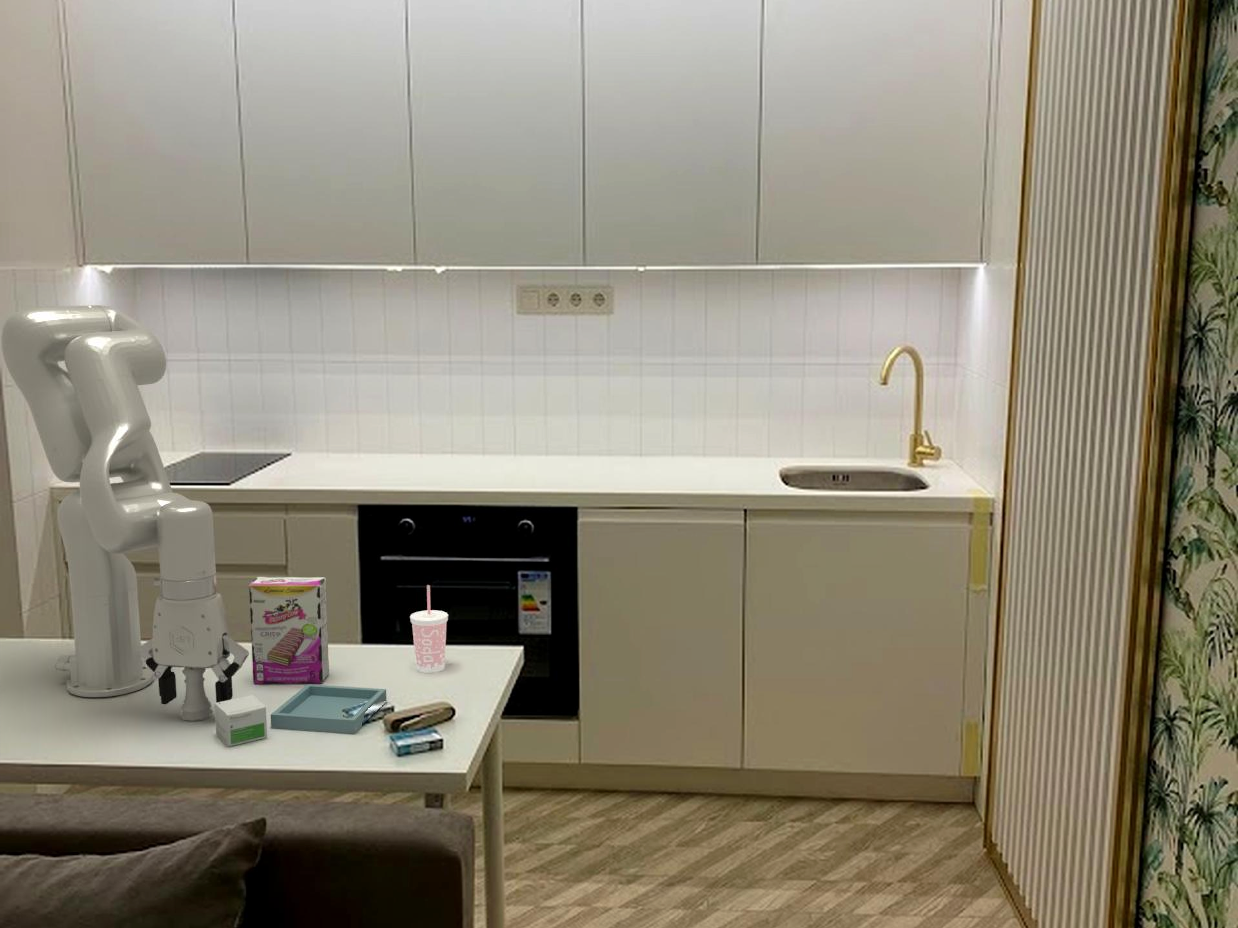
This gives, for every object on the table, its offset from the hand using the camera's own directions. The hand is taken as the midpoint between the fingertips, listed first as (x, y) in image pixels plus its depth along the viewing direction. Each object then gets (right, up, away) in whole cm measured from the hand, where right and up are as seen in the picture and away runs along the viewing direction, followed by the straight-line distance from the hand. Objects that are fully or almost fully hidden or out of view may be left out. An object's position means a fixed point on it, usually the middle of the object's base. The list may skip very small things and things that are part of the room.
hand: (196, 702), depth 175 cm
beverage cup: (+31, +1, +21) cm, 38 cm away
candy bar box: (+10, 0, +16) cm, 19 cm away
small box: (+9, -4, -7) cm, 12 cm away
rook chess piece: (0, -2, 0) cm, 2 cm away
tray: (+19, -2, +1) cm, 19 cm away
